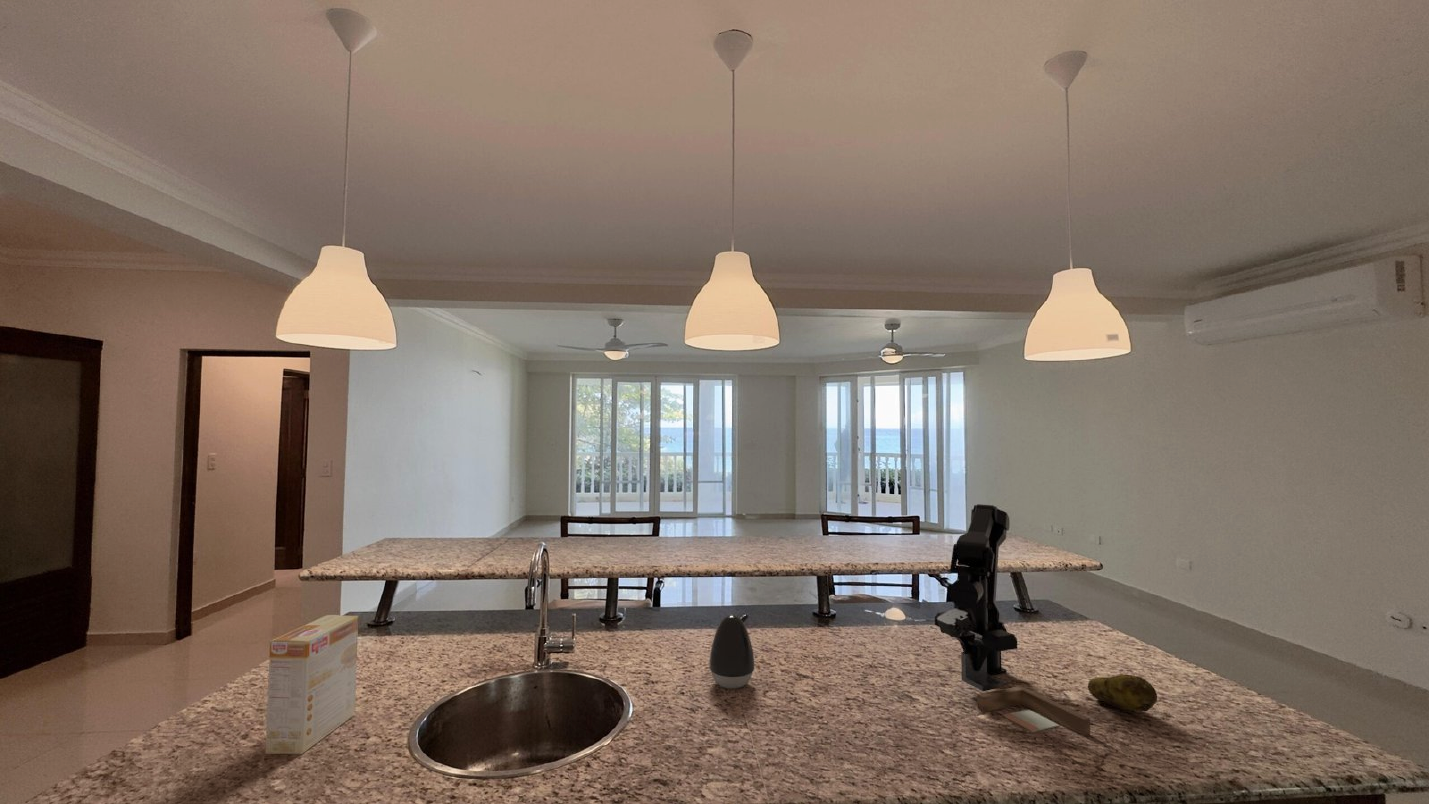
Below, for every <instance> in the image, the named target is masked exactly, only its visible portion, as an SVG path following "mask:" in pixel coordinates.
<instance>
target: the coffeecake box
mask: <svg viewBox="0 0 1429 804" xmlns="http://www.w3.org/2000/svg"><path fill="white" fill-rule="evenodd" d="M358 632H359V615H342V614H327V615H324V616H321V617H320V618H318V619H316V620H313V621H311V622H309V623H307V624H304V625H302V626H300V627H298V628H296V629H293V630H291V631H289V632H287V633H285V634H283V635H280V636H278V637H276V638H274V639H271V640H269V654H268V656H269V659H268V661H269V662H268V681H267V683H268V685H267V704H266V705H267V706H266V709H267V710H266V728H265V730H266V731H265V735H266V736H265V752H264V753H265V755H266V754H267V755H268V754H269V755H280V754H282V755H303V754H304V753H306V751H308V750H310V749H311V748H312V747H313V746H315V745H316V744H317V743H319V742H320V741H321V740H323V739H324V738H325V737H327V736H328V735H330V734H331V733H332V732H333V731H335V730H337V729H338V728H339V727H340V726H342V725H343V724H344V723H346V722H347V721H348V720H350V719H351V718H353V717H354V716H355V715H356V693H357V692H356V691H357V689H356V688H357V669H358V668H357V666H358V663H357V660H358V637H359V636H358V635H359V634H358Z"/></svg>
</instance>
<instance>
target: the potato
mask: <svg viewBox="0 0 1429 804" xmlns="http://www.w3.org/2000/svg"><path fill="white" fill-rule="evenodd" d="M1087 690H1088V692H1089V694H1091V695H1092V697H1093V698H1095V699H1096V700H1098V701H1101V702H1102V703H1106V704H1108V705H1110V706H1112V707H1114V708H1116V709H1120V710H1124V711H1139V712H1148V711H1149V710H1150V709H1152V708H1153V707H1154V705H1155V704H1156V703H1157V701H1158V695H1157V691H1156V690H1155V688H1154V686H1153V685H1152V684H1151V683H1150V682H1149V681H1147V680H1146V679H1145V678H1143V677H1141V676H1137V675H1132V674H1126V673H1125V674H1118V675H1117V674H1116V675H1115V676H1110V677H1094V678H1091V679H1089V681H1088V682H1087Z"/></svg>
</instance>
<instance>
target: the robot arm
mask: <svg viewBox="0 0 1429 804" xmlns="http://www.w3.org/2000/svg"><path fill="white" fill-rule="evenodd" d="M970 513H971V515H970V524H969V527H968V530H967V531H966V533H964V534H961V535H959V537H958V538H957V540H956V543H954V544H953V547H952V555H951V563H950V569H949V572H950V573H955V574H957V577H956V578H957V579H956V580H955V581H954V582H952V584H951V585H950V586H949V589H948V595H949V599H950V600H951V602H952V603H953V604H954V605H953V606H954V607H953V609H949V610H947V611H941V612H937V613H936V615H935V616H934V626H936V627H938V628H939V629H940V633H941V634H945V635H948V636H949V637H951V638H955V639H956V641H958V642H959V643H960V646H961V649H962V652H966V651H973V664H974V670H975V671H979V670H980V669H981V667H982V665H983V663H984V661H985V659H986V657H987V674H988V675H990V676H993V675H997V674H1005V673H1007V672H1008V670H1007V669H1006V668H1004V667H1002V652H1003V651H1010V650H1011V651H1012V650H1017V649H1018V638H1017V637H1016V635H1015V634H1013V633H1011V632H1009V631H1008V629H1007V628H1006V626H1005V622H1003V617H1002V614H1001V613H1000V611H999V610H998V607H997V606H996V602H997V588H998V587H997V585H998V584H997V583H998V580H997V579H998V568H999V549H1000V547H1001V545H1002V544H1003V543H1004V542H1005V541H1006V540H1007V531H1010V517H1009V514H1008V513H1007V512H1005V511H1004V510H1001V509H999V508H997V506H994V505H992V504H974V505H973V509H971V512H970Z"/></svg>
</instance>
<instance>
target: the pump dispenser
mask: <svg viewBox="0 0 1429 804" xmlns="http://www.w3.org/2000/svg"><path fill="white" fill-rule="evenodd" d="M748 618H749V616H748V614H743V615H742V616H741V617H739V616H738V615H734V614H729V615H727V616H725V617H723V618H722V619H721V621H720V623H719V624H718V626H717V628H716V631H715V634H714V637H713V640H712V643H711V649H710V654H709V662H708V663H709V665H708V666H709V667H708V668H709V671H710V673H711V677H712V678H713V680H714V682H715V683H716V684H717V685H719V686H721V687H722V688H725V689H732V690H734V689H740V688H743V687H744V686H746V685H747V684H748V683H749V682H750V680H751V679H752V676H753V673H754V671H755V657H754V650H753V645H752V642H751V637H750V634H749V632H748V629H747V626H746V624H745V622H746V621H747V620H748Z"/></svg>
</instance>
